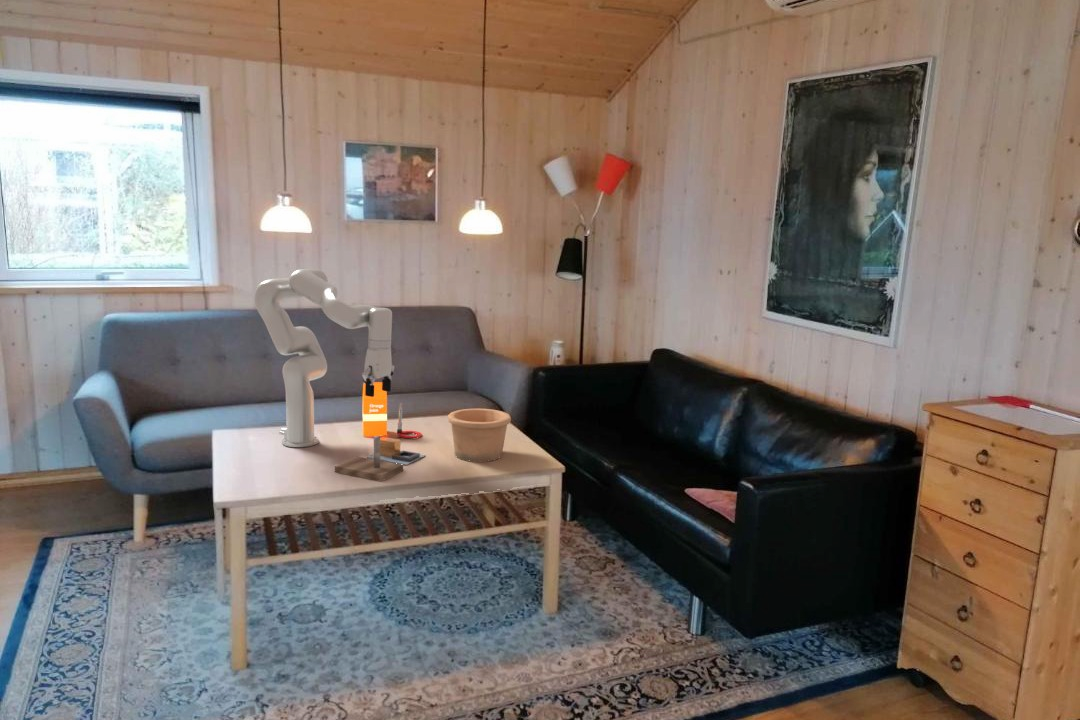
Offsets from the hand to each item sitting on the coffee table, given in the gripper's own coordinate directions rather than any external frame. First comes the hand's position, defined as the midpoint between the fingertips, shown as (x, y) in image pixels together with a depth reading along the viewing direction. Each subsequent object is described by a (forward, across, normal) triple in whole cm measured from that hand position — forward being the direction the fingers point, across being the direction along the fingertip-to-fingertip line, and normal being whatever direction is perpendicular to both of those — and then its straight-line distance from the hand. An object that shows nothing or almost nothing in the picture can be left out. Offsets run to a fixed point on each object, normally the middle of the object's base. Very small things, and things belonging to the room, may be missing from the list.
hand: (378, 393), depth 257 cm
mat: (+22, -1, +8) cm, 23 cm away
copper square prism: (+21, -1, +8) cm, 23 cm away
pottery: (+21, -18, +31) cm, 41 cm away
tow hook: (+22, -26, -3) cm, 35 cm away
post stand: (+22, +16, +8) cm, 28 cm away
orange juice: (+23, -22, -16) cm, 36 cm away
